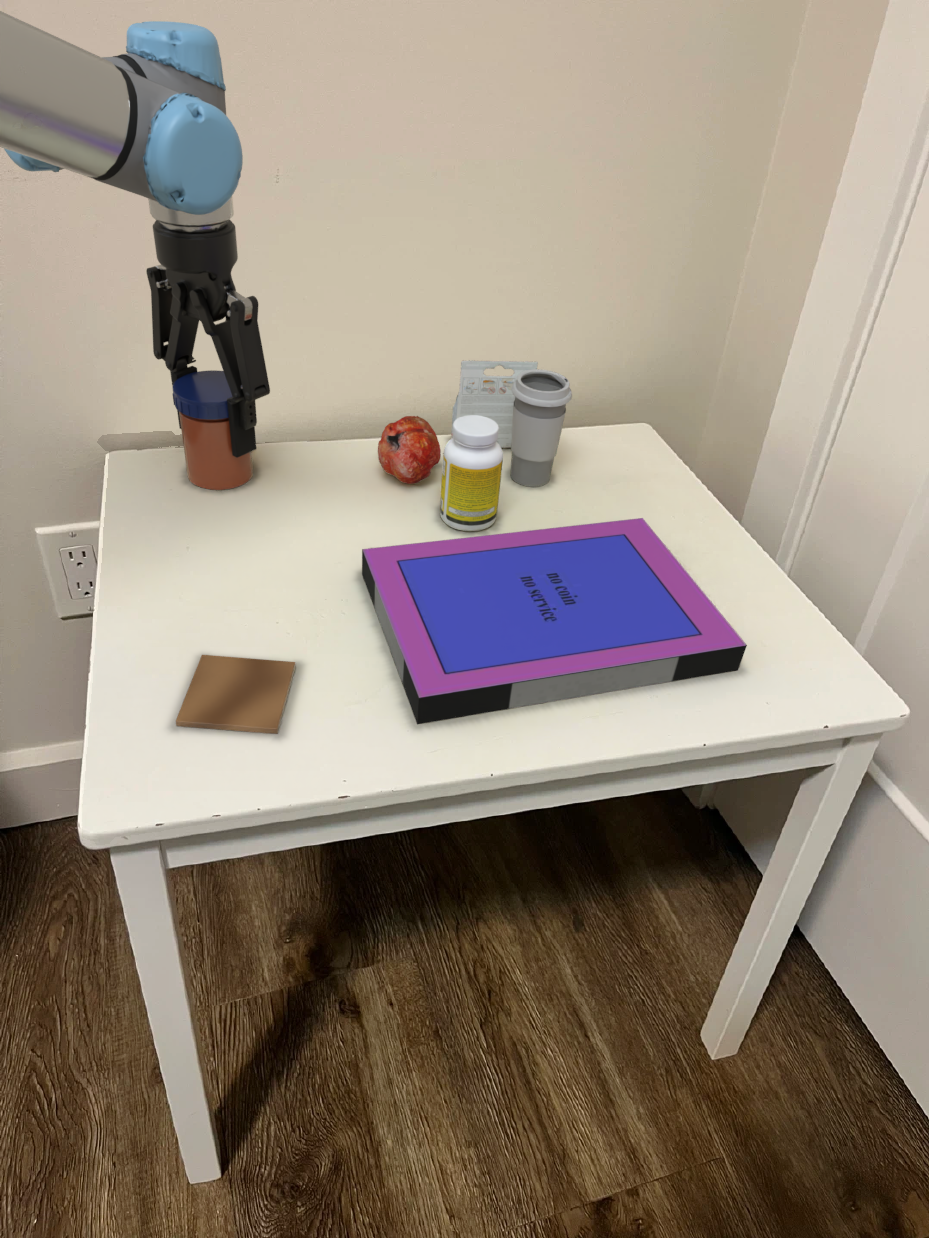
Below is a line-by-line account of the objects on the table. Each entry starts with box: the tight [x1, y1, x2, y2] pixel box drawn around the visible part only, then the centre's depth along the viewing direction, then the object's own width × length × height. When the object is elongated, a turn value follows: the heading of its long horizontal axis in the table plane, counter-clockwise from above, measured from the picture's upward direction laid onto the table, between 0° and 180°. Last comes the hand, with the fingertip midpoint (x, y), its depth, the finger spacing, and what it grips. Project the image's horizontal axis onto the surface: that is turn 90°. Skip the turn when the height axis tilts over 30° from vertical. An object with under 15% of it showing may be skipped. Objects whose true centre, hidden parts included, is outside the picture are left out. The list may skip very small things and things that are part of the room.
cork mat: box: [175, 654, 297, 735], centre depth 75 cm, size 8×8×1 cm
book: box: [361, 517, 748, 725], centre depth 85 cm, size 21×3×30 cm
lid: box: [172, 369, 242, 419], centre depth 96 cm, size 8×8×2 cm
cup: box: [509, 368, 573, 488], centre depth 103 cm, size 7×7×12 cm
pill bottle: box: [439, 415, 504, 532], centre depth 95 cm, size 6×6×11 cm
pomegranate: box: [377, 415, 442, 485], centre depth 103 cm, size 7×7×10 cm
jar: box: [179, 412, 254, 491], centre depth 99 cm, size 7×7×10 cm
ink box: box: [450, 359, 539, 449], centre depth 109 cm, size 3×9×12 cm, turn 98°
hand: (217, 438), depth 100 cm, fingers closed on lid, 8 cm apart
